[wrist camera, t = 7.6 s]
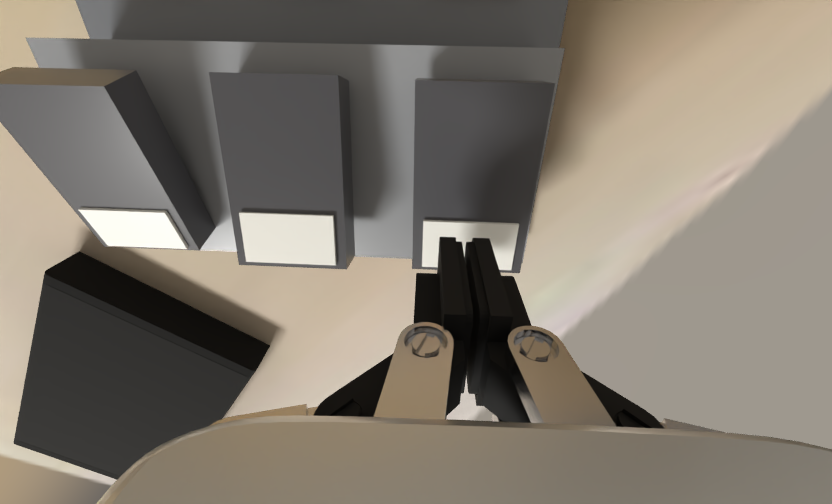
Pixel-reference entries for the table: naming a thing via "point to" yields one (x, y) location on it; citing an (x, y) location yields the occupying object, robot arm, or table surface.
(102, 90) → the block
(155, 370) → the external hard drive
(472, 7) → the switch unit
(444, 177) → the block
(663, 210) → the table surface
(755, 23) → the table surface
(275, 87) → the block
